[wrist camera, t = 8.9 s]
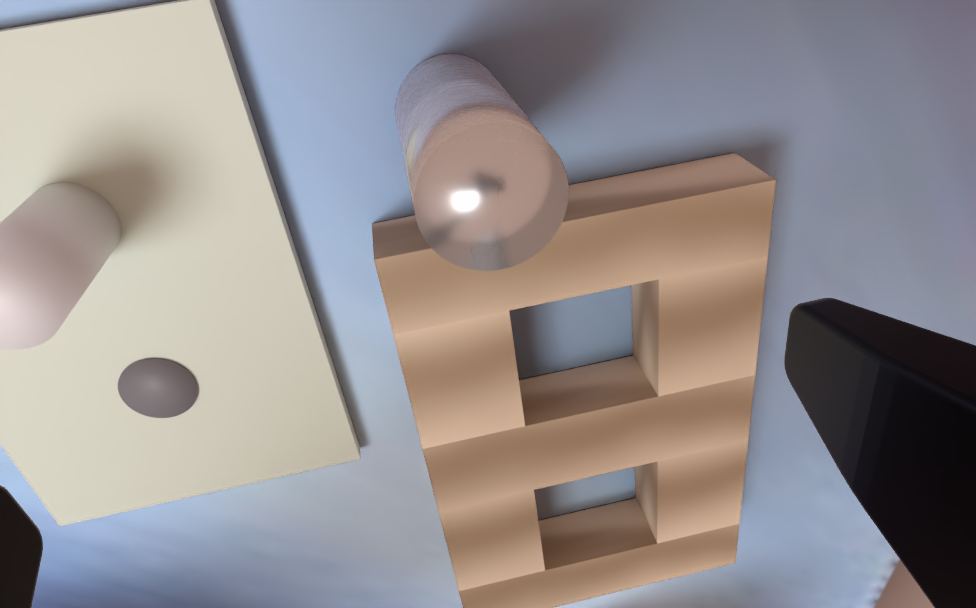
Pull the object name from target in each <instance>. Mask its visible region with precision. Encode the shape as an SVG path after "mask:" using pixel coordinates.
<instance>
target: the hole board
mask: <svg viewBox="0 0 976 608" xmlns="http://www.w3.org/2000/svg"><path fill="white" fill-rule="evenodd" d="M775 185H776V179H774V178H773V177H771V176H770V175H768V174H767V173H765V172H764V171H762V170H760V169H759V168H757V167H756V166H754V165H753V164H751V163H750V162H748V161H747V160H745V159H744V158H742V157H740V156H739V155H737V154H736V153H732V154H727V155H721V156H716V157H711V158H706V159H701V160H696V161H691V162H686V163H680V164H675V165H670V166H665V167H660V168H655V169H650V170H645V171H639V172H634V173H629V174H624V175H619V176H614V177H609V178H604V179H598V180H593V181H588V182H583V183H578V184H573V185H568V186H569V198H568V205H567V209H566V213H565V216H564V219H563V221H562V223H561V225H560V227H559V229H558V231H557V232H556V234H555V235H554V237H553V238H552V239H551V241H550V242H549V243H548V244H547V245H546V246H545V247H544V248H543V249H542V250H540V251H539V252H538V253H537V254H536V255H534V256H533V257H531V258H530V259H528V260H526V261H524V262H522V263H520V264H518V265H515V266H513V267H509V268H505V269H501V270H494V271H478V270H471V269H466V268H463V267H460V266H457V265H455V264H453V263H451V262H449V261H447V260H445V259H444V258H443V257H441V256H440V255H439V254H437V253H436V252H435V251H434V250H433V249H432V248H431V247H430V245H429V244H428V243H427V242H426V240H425V239H424V237H423V235H422V234H421V231H420V229H419V227H418V224H417V220H416V217H415V215H414V216H409V217H404V218H399V219H394V220H388V221H383V222H378V223H373V224H372V232H373V250H374V261H375V265H376V269H377V273H378V277H379V281H380V285H381V289H382V293H383V297H384V300H385V304H386V308H387V312H388V316H389V320H390V324H391V328H392V332H393V336H394V339H395V343H396V347H397V351H398V355H399V359H400V363H401V367H402V371H403V375H404V379H405V382H406V386H407V390H408V394H409V398H410V402H411V406H412V410H413V414H414V418H415V421H416V425H417V429H418V433H419V437H420V441H421V445H422V449H423V453H424V457H425V461H426V464H427V468H428V472H429V476H430V480H431V484H432V488H433V492H434V496H435V500H436V503H437V507H438V511H439V515H440V519H441V523H442V527H443V531H444V535H445V539H446V542H447V546H448V550H449V554H450V558H451V562H452V566H453V570H454V574H455V578H456V582H457V585H458V589H459V593H460V597H461V601H462V605H463V608H553V607H557V606H561V605H565V604H569V603H573V602H578V601H582V600H586V599H590V598H594V597H598V596H602V595H606V594H610V593H614V592H618V591H622V590H626V589H631V588H635V587H639V586H643V585H647V584H651V583H655V582H659V581H663V580H667V579H671V578H675V577H679V576H684V575H688V574H692V573H696V572H700V571H704V570H708V569H712V568H716V567H720V566H724V565H728V564H732V563H735V561H736V552H737V542H738V533H739V523H740V514H741V505H742V495H743V486H744V476H745V467H746V457H747V448H748V439H749V429H750V420H751V410H752V401H753V392H754V382H755V373H756V363H757V354H758V345H759V335H760V326H761V316H762V307H763V297H764V288H765V279H766V269H767V260H768V250H769V241H770V232H771V222H772V213H773V203H774V194H775ZM629 285H631V288H632V339H633V356H629V357H624V358H620V359H615V360H610V361H606V362H601V363H597V364H592V365H587V366H583V367H578V368H574V369H569V370H564V371H560V372H555V373H551V374H546V375H541V376H537V377H532V378H528V379H523V380H519V378H518V371H517V363H516V356H515V349H514V342H513V334H512V327H511V320H510V313H509V311H510V310H514V309H519V308H524V307H529V306H534V305H538V304H543V303H548V302H553V301H558V300H562V299H567V298H572V297H577V296H581V295H586V294H591V293H596V292H601V291H605V290H610V289H615V288H620V287H625V286H629ZM631 467H635V493H636V498H634V499H629V500H625V501H621V502H616V503H612V504H608V505H604V506H599V507H595V508H591V509H587V510H582V511H578V512H574V513H570V514H565V515H561V516H557V517H552V518H548V519H544V520H540V521H538V515H537V508H536V501H535V494H534V490H536V489H540V488H545V487H549V486H553V485H558V484H562V483H566V482H571V481H575V480H579V479H584V478H588V477H592V476H597V475H601V474H605V473H610V472H614V471H618V470H623V469H627V468H631Z"/></svg>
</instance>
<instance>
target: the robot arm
mask: <svg viewBox="0 0 976 608" xmlns="http://www.w3.org/2000/svg"><path fill="white" fill-rule="evenodd" d="M785 370H786V374H787V376H788V379H789V381H790V383H791V385H792V387H793V388H794V390H795V392H796V394H797V395H798V397H799V399H800V401H801V403H802V404H803V406H804V408H805V410H806V411H807V413H808V415H809V417H810V419H811V420H812V422H813V424H814V426H815V427H816V429H817V431H818V433H819V435H820V436H821V438H822V440H823V442H824V443H825V445H826V447H827V449H828V451H829V452H830V454H831V456H832V458H833V460H834V461H835V463H836V465H837V467H838V468H839V470H840V472H841V474H842V475H843V477H844V479H845V480H846V482H847V484H848V485H849V487H850V488H851V490H852V492H853V493H854V494H855V496H856V497H857V499H858V500H859V502H860V503H861V505H862V506H863V508H864V509H865V511H866V512H867V513H868V515H869V516H870V518H871V519H872V520H873V522H874V523H875V525H876V526H877V527H878V529H879V530H880V532H881V533H882V534H883V536H884V537H885V539H886V540H887V541H888V543H889V544H890V546H891V547H892V548H893V550H894V551H895V553H896V554H897V555H898V557H899V558H900V560H901V561H902V562H903V564H904V565H905V566H906V568H907V569H908V571H909V572H910V574H911V575H912V576H913V578H914V579H915V581H916V582H917V583H918V585H919V586H920V588H921V589H922V590H923V592H924V593H925V595H926V596H927V597H928V599H929V600H930V602H931V603H932V605H933V606H934V607H935V608H976V346H975V345H972V344H969V343H966V342H963V341H960V340H957V339H954V338H951V337H948V336H945V335H942V334H939V333H936V332H933V331H930V330H927V329H924V328H921V327H918V326H915V325H912V324H909V323H906V322H903V321H900V320H897V319H894V318H891V317H888V316H885V315H882V314H879V313H876V312H873V311H870V310H867V309H864V308H861V307H858V306H855V305H852V304H849V303H846V302H843V301H840V300H837V299H834V298H823V299H818V300H814V301H809V302H805V303H800V304H798V305H797V306H795V307H794V308H793V310H792V312H791V314H790V319H789V327H788V335H787V343H786V351H785ZM42 551H43V542H42V537H41V534H40V531H39V529H38V528H37V526H36V525H35V524H34V522H33V521H32V520H31V519H30V517H29V516H28V515H27V514H26V513H25V511H24V510H23V509H22V508H21V506H20V505H19V504H18V503H17V501H16V500H15V499H14V498H13V496H12V495H11V494H10V493H9V492H8V490H7V489H5V488H4V487H2V486H0V608H31V606H32V601H33V596H34V591H35V586H36V581H37V577H38V572H39V567H40V562H41V557H42Z"/></svg>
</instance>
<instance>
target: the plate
mask: <svg viewBox="0 0 976 608" xmlns="http://www.w3.org/2000/svg"><path fill="white" fill-rule="evenodd" d="M0 444H1V446H2V447H3V449H4V450H5V451H6V453H7V454H8V455H9V457H10V458H11V460H12V461H13V462H14V464H15V465H16V466H17V468H18V469H19V471H20V472H21V473H22V475H23V476H24V478H25V479H26V480H27V482H28V483H29V484H30V486H31V487H32V489H33V490H34V491H35V493H36V494H37V496H38V497H39V498H40V500H41V501H42V502H43V504H44V505H45V507H46V508H47V509H48V511H49V512H50V514H51V515H52V516H53V518H54V519H55V520H56V522H57V523H58V525H59V526H63V525H67V524H72V523H76V522H81V521H85V520H90V519H94V518H99V517H103V516H108V515H112V514H117V513H121V512H126V511H130V510H135V509H139V508H144V507H148V506H153V505H157V504H162V503H166V502H171V501H175V500H180V499H184V498H189V497H193V496H198V495H202V494H207V493H211V492H216V491H220V490H225V489H229V488H234V487H238V486H243V485H247V484H252V483H256V482H261V481H265V480H270V479H274V478H279V477H283V476H288V475H292V474H297V473H301V472H305V471H310V470H314V469H319V468H323V467H328V466H332V465H337V464H341V463H346V462H350V461H355V460H359V459H360V446H359V443H358V440H357V437H356V433H355V430H354V427H353V424H352V421H351V418H350V415H349V412H348V409H347V406H346V403H345V400H344V397H343V394H342V390H341V387H340V384H339V381H338V378H337V375H336V372H335V369H334V366H333V363H332V360H331V357H330V354H329V350H328V347H327V344H326V341H325V338H324V335H323V332H322V329H321V326H320V323H319V320H318V317H317V314H316V311H315V307H314V304H313V301H312V298H311V295H310V292H309V289H308V286H307V283H306V280H305V277H304V274H303V271H302V267H301V264H300V261H299V258H298V255H297V252H296V249H295V246H294V243H293V240H292V237H291V234H290V231H289V228H288V224H287V221H286V218H285V215H284V212H283V209H282V206H281V203H280V200H279V197H278V194H277V191H276V188H275V184H274V181H273V178H272V175H271V172H270V169H269V166H268V163H267V160H266V157H265V154H264V151H263V148H262V145H261V141H260V138H259V135H258V132H257V129H256V126H255V123H254V120H253V117H252V114H251V111H250V108H249V105H248V101H247V98H246V95H245V92H244V89H243V86H242V83H241V80H240V77H239V74H238V71H237V68H236V65H235V62H234V58H233V55H232V52H231V49H230V46H229V43H228V40H227V37H226V34H225V31H224V28H223V25H222V22H221V18H220V15H219V12H218V9H217V6H216V3H215V0H177V1H171V2H165V3H159V4H153V5H147V6H140V7H134V8H128V9H122V10H116V11H110V12H104V13H98V14H92V15H86V16H80V17H74V18H68V19H62V20H56V21H50V22H44V23H38V24H32V25H26V26H20V27H13V28H7V29H1V30H0Z"/></svg>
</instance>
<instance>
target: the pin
mask: <svg viewBox="0 0 976 608" xmlns="http://www.w3.org/2000/svg"><path fill="white" fill-rule="evenodd" d="M395 115H396V122H397V127H398V132H399V137H400V142H401V147H402V152H403V157H404V162H405V167H406V172H407V177H408V182H409V187H410V192H411V197H412V202H413V207H414V212H415V217H416V220H417V224H418V227H419V229H420V231H421V234H422V235H423V237H424V239H425V240H426V242H427V243H428V244H429V245H430V247H431V248H432V249H433V250H434V251H435V252H436V253H437V254H439V255H440V256H441V257H443V258H444V259H445V260H447V261H449V262H451V263H453V264H455V265H457V266H460V267H463V268H466V269H471V270H478V271H494V270H501V269H505V268H509V267H513V266H515V265H518V264H520V263H522V262H524V261H526V260H528V259H530V258H531V257H533V256H534V255H536V254H537V253H538V252H539V251H540V250H542V249H543V248H544V247H545V246H546V245H547V244H548V243H549V242H550V241H551V239H552V238H553V237H554V235H555V234H556V232H557V231H558V229H559V227H560V225H561V223H562V221H563V219H564V216H565V213H566V209H567V205H568V198H569V186H568V179H567V174H566V171H565V168H564V165H563V163H562V161H561V159H560V157H559V156H558V154H557V153H556V151H555V150H554V149H553V148H552V146H551V145H550V144H549V143H548V141H547V140H546V139H545V138H544V137H543V135H542V134H541V133H540V132H539V131H538V129H537V128H536V127H535V126H534V124H533V123H532V122H531V121H530V120H529V118H528V117H527V116H526V115H525V114H524V112H523V111H522V110H521V109H520V107H519V106H518V105H517V104H516V103H515V101H514V100H513V99H512V98H511V97H510V95H509V94H508V93H507V92H506V90H505V89H504V88H503V87H502V86H501V84H500V83H499V82H498V81H497V80H496V78H495V77H494V76H493V75H492V74H491V72H490V71H489V70H488V69H487V68H486V67H485V66H483V65H482V64H481V63H479V62H478V61H476V60H474V59H472V58H470V57H466V56H463V55H458V54H443V55H438V56H434V57H431V58H429V59H426V60H425V61H423V62H421V63H420V64H418V65H417V66H416V67H414V68H413V69H412V70H411V71H410V72H409V74H408V75H407V76H406V78H405V79H404V81H403V82H402V84H401V86H400V89H399V91H398V94H397V98H396V105H395Z"/></svg>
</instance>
